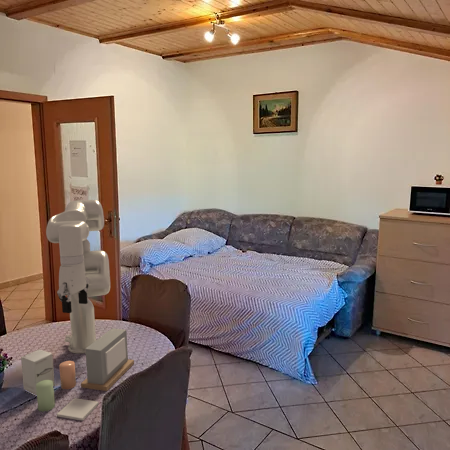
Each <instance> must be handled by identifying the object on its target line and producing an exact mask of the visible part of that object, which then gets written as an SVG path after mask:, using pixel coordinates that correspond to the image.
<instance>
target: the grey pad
mask: <svg viewBox="0 0 450 450" xmlns="http://www.w3.org/2000/svg"><path fill="white" fill-rule="evenodd" d="M99 403H100V401H96V400H89V399H83V398H76V397H74V398H73V399H72V400H70V402H68V403H67V404H66V405H65V406H64V407H63V408H61V410H60V411H58V412H57V414H56V417H59V418H65V419H71V420H77V421H82V422H83V421H84V420H85V419H86V418H88V416H89V415H90V414H91V413H92V412H93V411H94V410H95V409H96V407H98V405H100V404H99Z"/></svg>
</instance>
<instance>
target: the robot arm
mask: <svg viewBox="0 0 450 450" xmlns="http://www.w3.org/2000/svg"><path fill="white" fill-rule="evenodd" d="M104 227H105V216H104V209H103V206H102V204H101V202H100V201H99V200H96V199H85V200H84V199H80V200H79V199H78V200H72V201H69V202H68V204H66V207H65V210H64V211H62V212H60V213H57V214H55V215H53V216H52V217H50V219H49V220H48V221H47V225H46V231H45V233H46V238H47V240H48V242H50V243H53V244H58V245H59V257H60V259H59V260H60V261H59V262H60V266H59V272H58V290H57V291H56V293H57V296H58V299H59V301H60V302H61V308H62V309H61V310H62V311H61V312H62V313H64V314H69V319H70V320H69V321H70V331H71V335H68V334H67V335H65V338H64V343H69V345H68V348H67V349H68V351H69V352H70V353H72V354H76V355H77V354H79V355H80V354H86V352H85V349H86V348H87V347H88V346H90V345H91V344H92V343H94V342H95V341H96V340H97V339H98V338H96V336H97V335H96V323H95V307H94V305H93V302H92V301H91V300H90V299H89V297H97V296H106V295H107V294H109V292H110V291H111V275H110V273H111V271H110V260H109V255H108V253H107V252H106V251H104V250H100V249H99V250H91V242H90V241H89V239H88V238H89V236H90V232H98V231H101V230H103V229H104Z"/></svg>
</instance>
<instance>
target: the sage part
mask: <svg viewBox="0 0 450 450" xmlns="http://www.w3.org/2000/svg"><path fill="white" fill-rule="evenodd" d="M54 388H55V387H54ZM54 388H53V381H52V380H43V381H40V382H38V383H37V384H36V392H37V397H36V401H37V410H38V411H39V412H41V411H42V412H41V413H45V412H44V411H46V412H49V411H52V410H53V409H54V408H55V406H56V403H55V389H54ZM48 410H49V411H48Z"/></svg>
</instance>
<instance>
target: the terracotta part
mask: <svg viewBox="0 0 450 450" xmlns="http://www.w3.org/2000/svg"><path fill="white" fill-rule="evenodd" d="M58 367H59V377H60V378H59V379H60V388H61V389H62V390H65V389H66V390H71V389H74V388H75V387H76V385H77V378H76V377H77V376H76V363H75V361H74V360H66V361H63V362H61V363H60V364H59V366H58Z"/></svg>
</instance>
